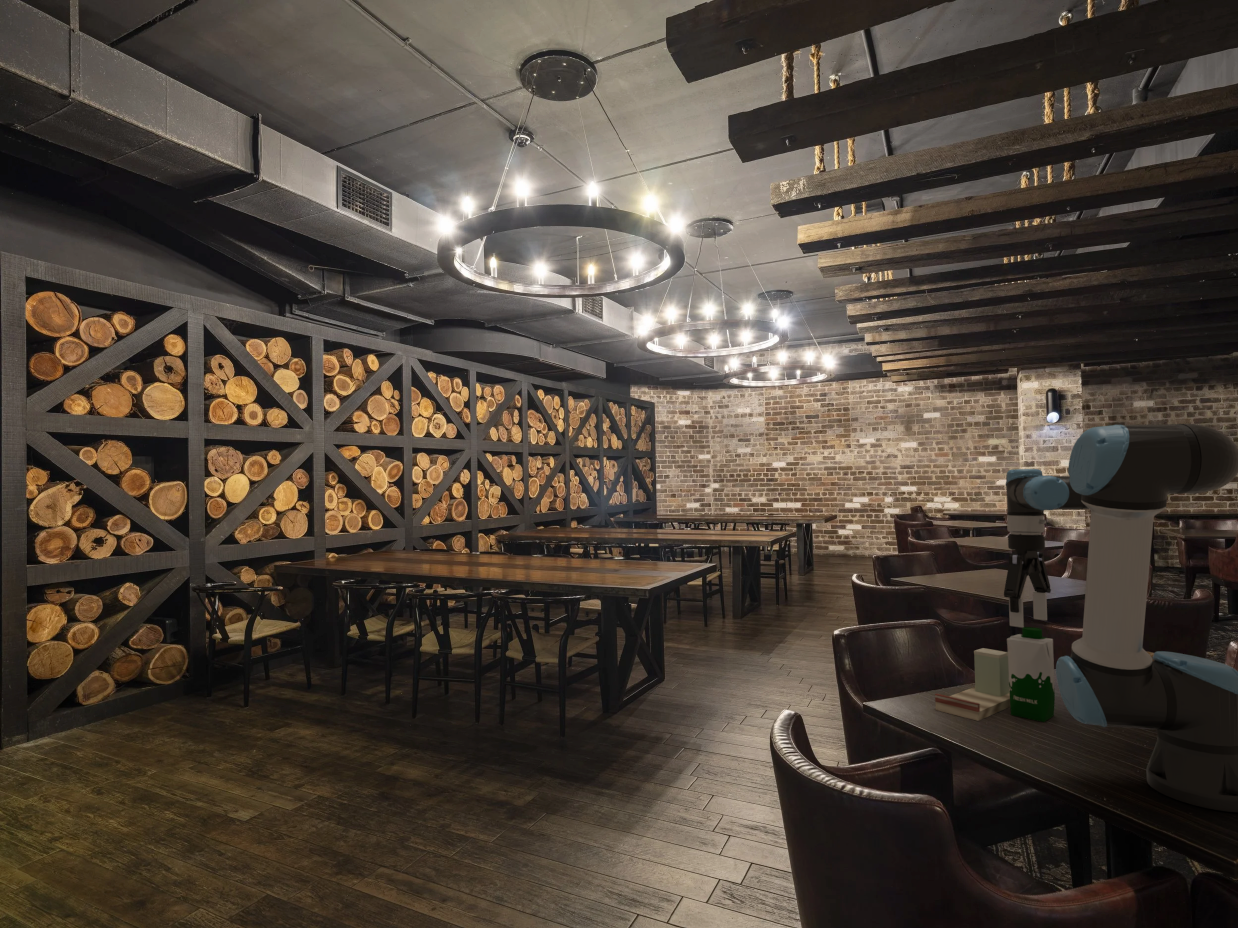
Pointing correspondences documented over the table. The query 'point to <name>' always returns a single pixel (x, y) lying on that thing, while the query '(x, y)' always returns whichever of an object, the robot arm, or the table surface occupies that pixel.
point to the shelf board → (971, 704)
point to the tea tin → (991, 672)
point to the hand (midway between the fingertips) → (1028, 622)
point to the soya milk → (1031, 675)
